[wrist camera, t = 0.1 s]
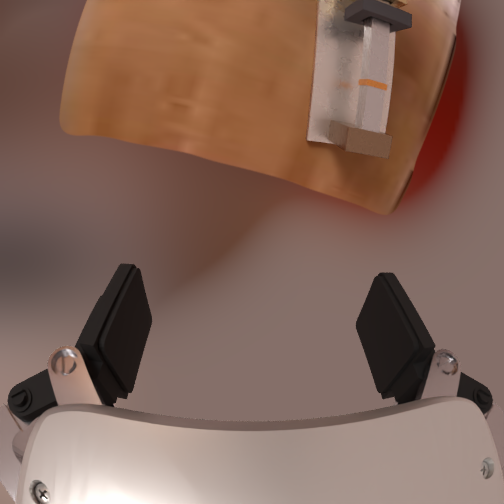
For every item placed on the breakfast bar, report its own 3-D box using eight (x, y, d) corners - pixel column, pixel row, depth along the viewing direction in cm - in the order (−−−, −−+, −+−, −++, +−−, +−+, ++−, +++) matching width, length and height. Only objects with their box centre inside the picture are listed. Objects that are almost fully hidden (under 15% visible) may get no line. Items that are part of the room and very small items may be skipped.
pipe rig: (318, -40, 19) (334, -63, 12) (391, -18, 20) (418, -31, 13) (305, 139, 36) (320, 151, 29) (378, 151, 37) (406, 166, 30)
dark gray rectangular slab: (344, 8, 22) (363, -5, 16) (387, 22, 22) (411, 14, 17) (344, 20, 23) (362, 9, 18) (387, 33, 23) (411, 27, 18)
